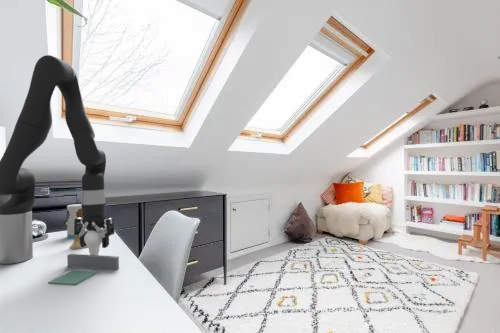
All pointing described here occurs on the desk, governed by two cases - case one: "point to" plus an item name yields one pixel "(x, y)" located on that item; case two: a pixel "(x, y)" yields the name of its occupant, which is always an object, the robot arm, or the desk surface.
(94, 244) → the lightbulb
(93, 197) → the robot arm
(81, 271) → the pad
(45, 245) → the desk surface
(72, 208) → the cup
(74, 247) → the hand bell
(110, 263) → the wall
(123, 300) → the desk surface
